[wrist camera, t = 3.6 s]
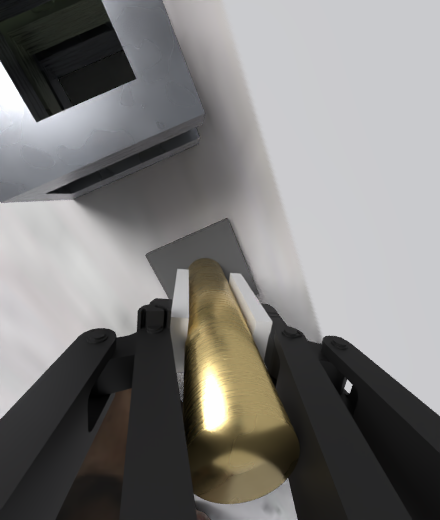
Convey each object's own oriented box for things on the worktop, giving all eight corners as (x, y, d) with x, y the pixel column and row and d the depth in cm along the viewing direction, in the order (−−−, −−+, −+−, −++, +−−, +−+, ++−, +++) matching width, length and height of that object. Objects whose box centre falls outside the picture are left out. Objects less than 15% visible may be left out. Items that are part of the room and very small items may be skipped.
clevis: (-55, -11, 13) (-286, -206, 7) (108, -80, 13) (32, -338, 7) (72, 199, 17) (0, 202, 11) (198, 143, 17) (205, 113, 11)
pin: (191, 253, 19) (200, 406, 5) (227, 263, 19) (317, 421, 6) (182, 288, 19) (168, 501, 6) (217, 296, 20) (276, 506, 6)
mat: (146, 253, 19) (145, 255, 18) (226, 218, 19) (227, 218, 18) (184, 323, 21) (184, 326, 20) (256, 291, 21) (258, 293, 20)
